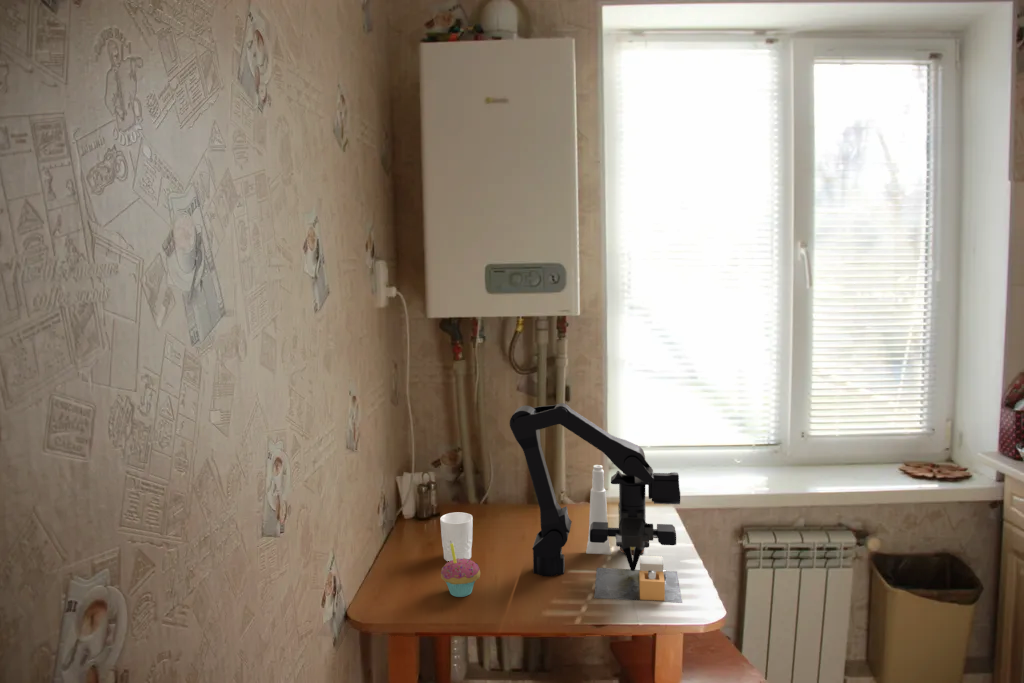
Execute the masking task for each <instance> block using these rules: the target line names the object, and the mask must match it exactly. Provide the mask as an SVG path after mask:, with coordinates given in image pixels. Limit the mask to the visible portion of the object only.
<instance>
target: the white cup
mask: <svg viewBox="0 0 1024 683" xmlns="http://www.w3.org/2000/svg"><path fill="white" fill-rule="evenodd" d="M473 517H474V516H473V515H472V514H470V513H467V512H459V511H458V512H457V511H456V512H449V513H446V514H443V515H442V516H440V519H439V520H440V531H441V532H440V536H441V544H442V551H443V559H444V561H446V562H448V561H452V560H453V557H452V551H451V546H450V544H451V543H453V546H454V551H455V556H456V559H457V558H459V559H463V558H465V559H470V560H471V558H472V546H473V529H474V527H473V521H474V519H473ZM450 540H451V542H450Z"/></svg>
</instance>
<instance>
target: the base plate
mask: <svg viewBox="0 0 1024 683" xmlns="http://www.w3.org/2000/svg"><path fill="white" fill-rule="evenodd" d="M639 571H640V569H636V568H635V571H631V569H630V568H612V567H611V568H608V567H596V574H595V575H596V576H595V584H594V586H595V587H594V596H593V598H594V599H605V600H622V601H624V600H625V601H639V602H640V601H641V602H642V601H644V602H663V603H678V604H679V603H680V604H683V598H682V593H681V587H680V586H681V585H680V580H679V575H678V571H676V570H671V571H670V570H667V569H665V568H663V574H664V580H665V601H663V600H642V599H640V591H639ZM648 579H655V580H656V571H654V570H649V571H648Z"/></svg>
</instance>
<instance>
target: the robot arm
mask: <svg viewBox="0 0 1024 683" xmlns="http://www.w3.org/2000/svg"><path fill="white" fill-rule="evenodd" d="M557 425H561V426H563V427H564V428H566V429H567V430H568V431H570V432H571V433H573V434H574V435H576V436H578V437H579V438H581V440H583V441H585V442H586V443H588V444H590V445H591V446H592V447H594V448H595V449H597V450H599V451H601V452H602V453H603V454H604V455H605V456H606V457H607V458H608V459H609V460H610V462H612V464H613V465H614V466H615V467H617V468H618V469H619V470H616V473H615V474H613V475H612V476H611V477H610V484H611V485H618V486H619V487H618V490H619V491H618V493H619V494H618V497H619V498H618V504H619V510H618V527H609V522H608V521H607V522H593V523H592V524H591V526H590V542H595V543H604V542H605V541H607V540H608V536H609V537H610V538H612V537H613V538H615V546H616V547H619V548H620V547H621V548H622V549H623V551H624V553H623V554H625V557H626V561H627V564H628V566H629V569H631V571H635V569H636V567H637V564H638V562H639V560H640V556H641V555H642V553H641V552H642V550H643V549H644V550H645V548H646V549H648V548H650V541H653V542H654V539H657V541H658V543H659V544H660V545H661V546H676V545H677V532H676V527H675V526H674V525H673V524H669V523H668V524H667V523H657V524H656V528H654V524H653V523H647V521H646V486H647V487H648V488H647V490H648V499H649V500H651V502H652V503H653V504H654V505H656V504H657V505H681V489H680V480H679V479H680V476H679V472H676V471H674V472H654V469H653V468H652V466H651V465H650V464H649V463H648V461H647V460H646V456H645V455H646V454H645V452H644V450H643V448H642V447H641V446H640V445H638V444H635V443H633V442H631V441H629V440H626V439H623V438H620V437H617V436H614V435H612V434H610V433H609V432H607V431H606V430H604V428H601V427H600V426H598V425H597V424H595V423H594V422H592V421H591V420H589V419H587V418H586V417H585V416H583V415H582V414H580V413H578V412H577V411H576V410H574V409H572V408H571V407H570V406H569V405H568V404H567V403H563V402H560V403H557V404H553V405H552V404H551V405H542V406H541V405H540V406H534V407H532V406H531V405H522V406H519V407H518V408H516V410H515V411H514V413H513V414H512V416H510V420H509V427H510V430H511V432H512V433H513V436H514V438H515V440H516V442H517V443H518V446H520V447H521V449H522V451H523V454H524V458H525V461H526V464H527V467H528V468H527V469H528V472H529V475H530V479H531V481H532V485H533V486H532V487H533V489H534V492H535V496H536V500H537V504H538V507H539V511H540V512H539V514H540V515H539V516H540V530H539V531H538V533H537V534H536V536H535V539H534V542H533V545H532V560H533V561H532V562H533V565H532V568H533V569H532V570H533V572H532V573H533V574H536V575H538V576H540V577H548V578H550V577H555V576H561V575H564V574H565V554H563V547H564V546H565V545H566V544H567V542H568V537H569V533H570V531H571V528H572V522H573V521H572V520H571V519H570V516H569V513H568V512H569V511H568V506H564V507H561V505H560V504H559V503H558V501H557V497H556V494H555V491H554V487H553V483H552V479H551V476H550V473H549V472H550V471H549V469H548V466H547V463H546V458H545V454H544V451H543V449H542V444H541V443H542V442H541V430H542V429H546V428H549V427H553V426H557ZM620 471H621V472H620ZM623 473H624V474H626V475H624V474H623ZM635 476H636V477H637V478H636V477H635ZM631 547H634V554H633V555H632V553H631Z"/></svg>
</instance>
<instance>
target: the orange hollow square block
mask: <svg viewBox="0 0 1024 683" xmlns="http://www.w3.org/2000/svg"><path fill="white" fill-rule="evenodd" d="M639 591H640V599H642V600H663V601H665V580H664V574H663V572H659V571H656V580H655V579H648V571H639Z"/></svg>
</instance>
